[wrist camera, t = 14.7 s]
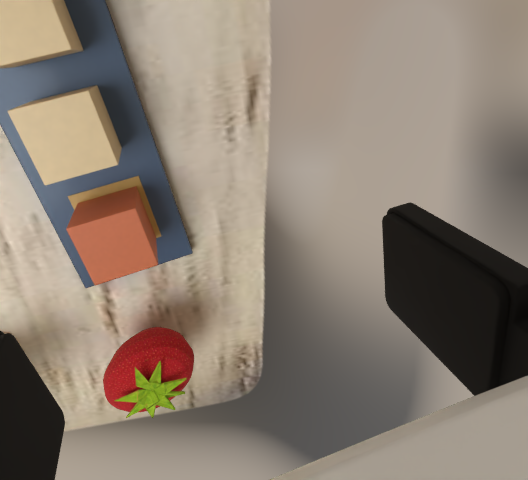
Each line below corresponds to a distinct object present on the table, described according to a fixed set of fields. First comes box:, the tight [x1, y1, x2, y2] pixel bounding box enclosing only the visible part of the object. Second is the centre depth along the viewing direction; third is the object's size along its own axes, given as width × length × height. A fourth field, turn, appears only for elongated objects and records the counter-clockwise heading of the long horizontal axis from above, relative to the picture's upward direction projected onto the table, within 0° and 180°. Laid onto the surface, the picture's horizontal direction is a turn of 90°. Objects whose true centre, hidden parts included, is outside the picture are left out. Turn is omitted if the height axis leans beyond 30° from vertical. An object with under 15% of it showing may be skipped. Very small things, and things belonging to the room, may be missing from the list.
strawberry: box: [103, 327, 194, 418], centre depth 32 cm, size 6×8×10 cm
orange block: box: [66, 186, 158, 285], centre depth 28 cm, size 4×4×5 cm
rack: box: [0, 0, 193, 288], centre depth 26 cm, size 22×9×6 cm, turn 14°
